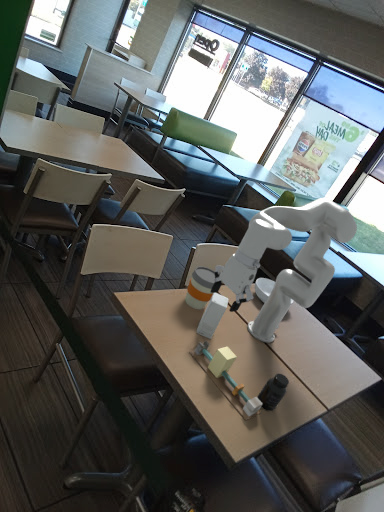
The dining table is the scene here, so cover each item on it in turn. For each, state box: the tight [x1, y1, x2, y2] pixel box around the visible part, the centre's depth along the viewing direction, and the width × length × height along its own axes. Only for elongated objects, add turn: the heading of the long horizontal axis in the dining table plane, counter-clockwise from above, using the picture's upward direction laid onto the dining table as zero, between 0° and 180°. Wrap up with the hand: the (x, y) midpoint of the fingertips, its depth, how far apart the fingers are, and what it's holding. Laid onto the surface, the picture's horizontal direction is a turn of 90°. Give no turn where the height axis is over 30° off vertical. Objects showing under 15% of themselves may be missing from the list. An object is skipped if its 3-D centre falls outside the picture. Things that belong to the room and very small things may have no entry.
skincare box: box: [196, 292, 229, 340], centre depth 149 cm, size 8×7×16 cm
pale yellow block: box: [208, 346, 238, 378], centre depth 132 cm, size 5×5×8 cm
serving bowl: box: [254, 277, 295, 306], centre depth 196 cm, size 21×21×7 cm
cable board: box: [188, 340, 262, 421], centre depth 131 cm, size 8×30×5 cm, turn 40°
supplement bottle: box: [256, 372, 290, 412], centre depth 128 cm, size 7×7×12 cm
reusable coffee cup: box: [184, 265, 215, 310], centre depth 164 cm, size 13×13×15 cm
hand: (223, 301), depth 126 cm, fingers open, 9 cm apart
